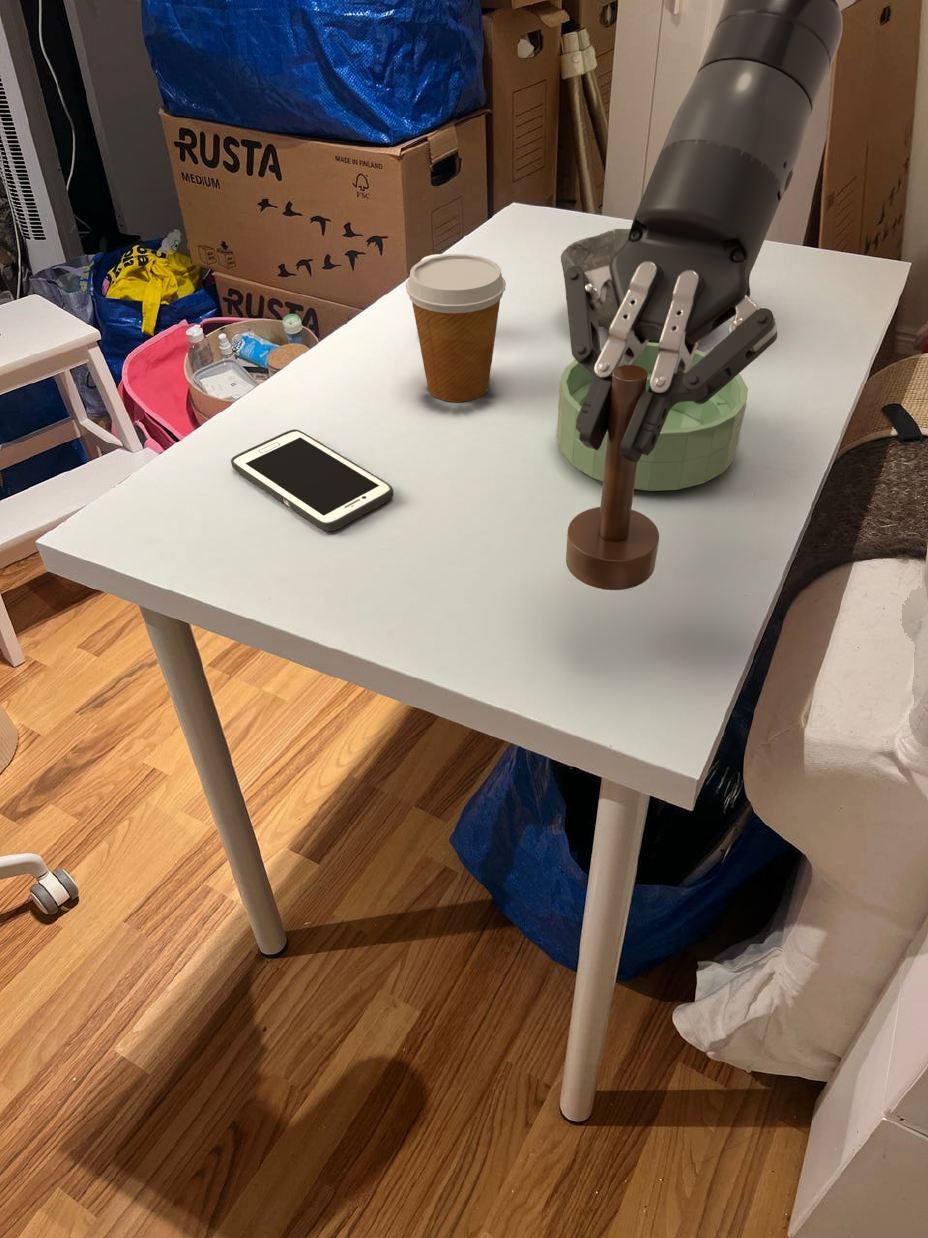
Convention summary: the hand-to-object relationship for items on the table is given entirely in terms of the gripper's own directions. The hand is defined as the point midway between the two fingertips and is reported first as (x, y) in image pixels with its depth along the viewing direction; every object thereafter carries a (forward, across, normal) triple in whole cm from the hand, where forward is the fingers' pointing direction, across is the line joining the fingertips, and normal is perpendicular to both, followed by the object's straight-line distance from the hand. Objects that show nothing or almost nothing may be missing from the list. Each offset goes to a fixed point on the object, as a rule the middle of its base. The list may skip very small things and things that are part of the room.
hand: (608, 450), depth 54 cm
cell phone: (+8, -31, +16) cm, 35 cm away
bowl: (-24, -20, +47) cm, 57 cm away
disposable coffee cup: (-7, -29, +31) cm, 43 cm away
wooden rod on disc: (+6, 0, +8) cm, 10 cm away
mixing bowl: (-7, -8, +31) cm, 33 cm away
